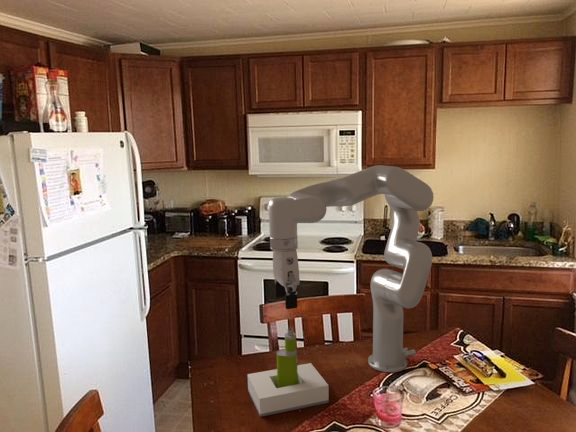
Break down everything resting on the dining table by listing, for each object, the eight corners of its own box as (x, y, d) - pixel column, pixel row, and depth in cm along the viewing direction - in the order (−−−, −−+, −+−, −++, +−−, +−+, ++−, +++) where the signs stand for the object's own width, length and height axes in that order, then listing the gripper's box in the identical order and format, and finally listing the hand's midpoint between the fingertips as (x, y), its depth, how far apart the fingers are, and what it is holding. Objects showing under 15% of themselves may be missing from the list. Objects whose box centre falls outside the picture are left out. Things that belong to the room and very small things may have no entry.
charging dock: (311, 378, 149) (310, 363, 148) (328, 402, 136) (328, 385, 135) (248, 390, 143) (247, 374, 142) (260, 416, 130) (259, 398, 129)
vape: (297, 397, 138) (296, 332, 133) (276, 395, 139) (275, 331, 134) (298, 389, 141) (298, 326, 137) (278, 388, 142) (277, 325, 138)
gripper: (307, 248, 124) (309, 311, 128) (287, 235, 141) (289, 291, 144) (280, 251, 122) (282, 315, 125) (262, 237, 138) (264, 294, 142)
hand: (285, 302), depth 135 cm, fingers open, 9 cm apart
